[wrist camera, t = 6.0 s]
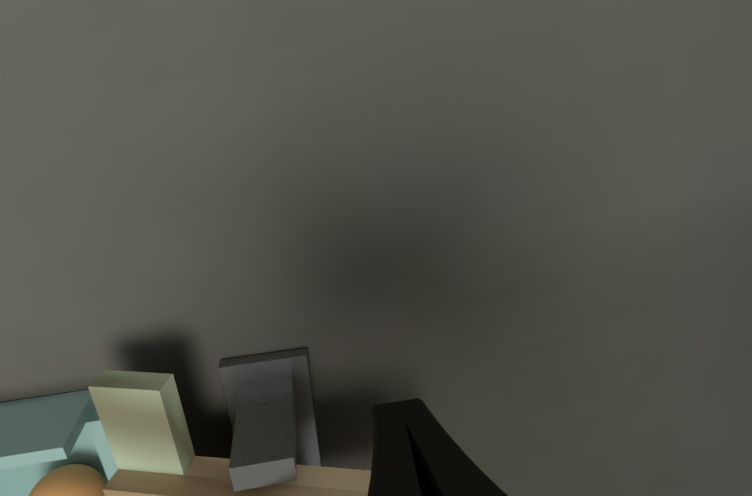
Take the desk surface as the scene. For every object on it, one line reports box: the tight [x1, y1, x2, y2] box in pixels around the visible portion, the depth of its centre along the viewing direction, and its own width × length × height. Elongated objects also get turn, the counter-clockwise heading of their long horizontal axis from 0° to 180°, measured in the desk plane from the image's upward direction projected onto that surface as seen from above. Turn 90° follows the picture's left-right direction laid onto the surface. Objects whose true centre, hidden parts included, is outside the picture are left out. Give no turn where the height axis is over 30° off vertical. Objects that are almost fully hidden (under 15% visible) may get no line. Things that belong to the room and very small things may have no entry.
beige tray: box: [88, 370, 371, 496], centre depth 19 cm, size 10×13×2 cm
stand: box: [219, 348, 321, 491], centre depth 22 cm, size 10×4×6 cm, turn 3°
